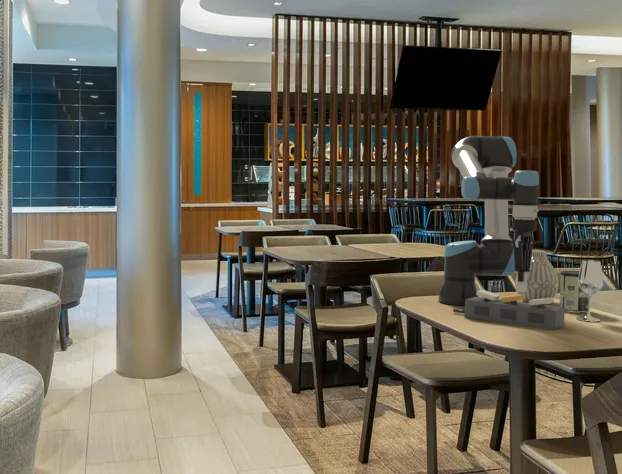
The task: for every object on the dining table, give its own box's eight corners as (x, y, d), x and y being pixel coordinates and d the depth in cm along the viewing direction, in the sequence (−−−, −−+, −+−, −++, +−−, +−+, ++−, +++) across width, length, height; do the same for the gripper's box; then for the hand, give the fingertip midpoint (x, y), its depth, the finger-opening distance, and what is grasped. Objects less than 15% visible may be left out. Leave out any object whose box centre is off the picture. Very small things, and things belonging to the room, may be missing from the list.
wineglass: (571, 317, 231) (574, 259, 229) (593, 317, 231) (596, 259, 230) (582, 322, 223) (585, 261, 221) (605, 322, 223) (608, 262, 222)
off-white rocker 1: (475, 294, 226) (476, 290, 226) (481, 293, 230) (482, 289, 230) (493, 300, 223) (494, 296, 222) (498, 299, 226) (499, 295, 226)
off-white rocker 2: (529, 305, 215) (528, 300, 216) (534, 303, 219) (533, 299, 219) (549, 303, 212) (548, 299, 212) (553, 301, 215) (553, 297, 215)
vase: (526, 297, 273) (529, 248, 272) (564, 303, 262) (567, 251, 260) (506, 301, 262) (508, 250, 260) (545, 307, 251) (548, 253, 249)
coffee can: (586, 309, 248) (588, 271, 247) (592, 314, 238) (594, 274, 237) (556, 307, 250) (558, 269, 249) (561, 312, 240) (563, 273, 239)
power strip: (447, 315, 230) (448, 295, 230) (459, 311, 237) (460, 292, 237) (554, 330, 208) (555, 308, 208) (563, 325, 216) (565, 304, 215)
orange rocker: (502, 301, 221) (501, 297, 221) (507, 300, 224) (506, 296, 224) (521, 300, 217) (520, 295, 217) (526, 298, 220) (525, 294, 221)
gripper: (529, 219, 210) (525, 295, 212) (543, 218, 220) (539, 290, 222) (505, 218, 215) (502, 292, 216) (520, 218, 225) (517, 288, 226)
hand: (521, 291), depth 219 cm, fingers closed
